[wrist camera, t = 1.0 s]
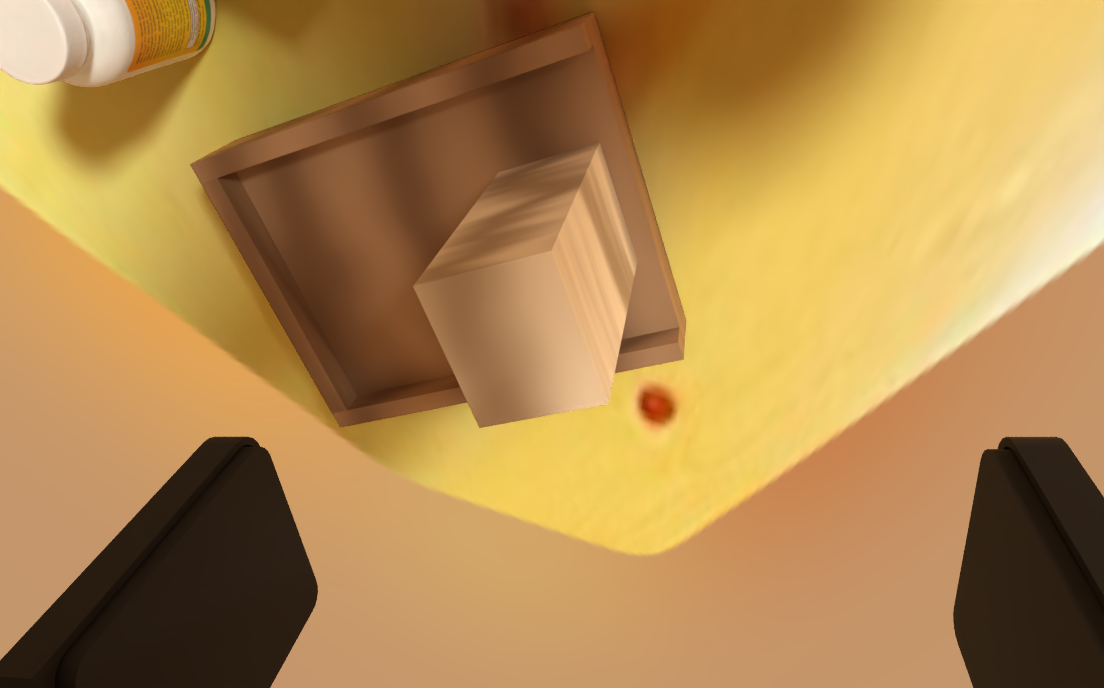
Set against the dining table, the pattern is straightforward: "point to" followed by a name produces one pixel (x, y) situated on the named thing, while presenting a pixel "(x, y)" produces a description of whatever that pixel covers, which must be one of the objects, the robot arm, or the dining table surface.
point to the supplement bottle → (99, 38)
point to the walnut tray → (424, 210)
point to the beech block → (535, 290)
